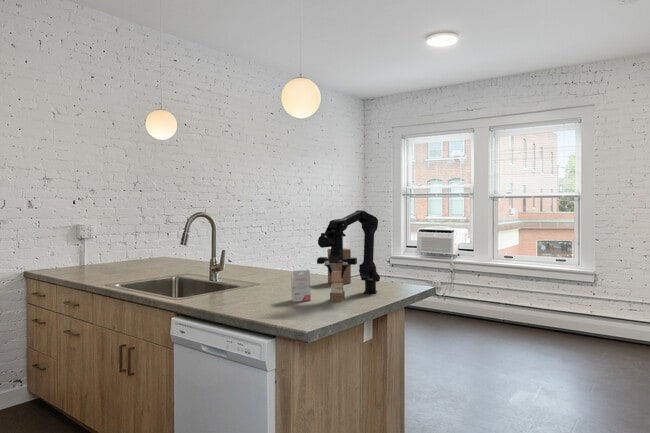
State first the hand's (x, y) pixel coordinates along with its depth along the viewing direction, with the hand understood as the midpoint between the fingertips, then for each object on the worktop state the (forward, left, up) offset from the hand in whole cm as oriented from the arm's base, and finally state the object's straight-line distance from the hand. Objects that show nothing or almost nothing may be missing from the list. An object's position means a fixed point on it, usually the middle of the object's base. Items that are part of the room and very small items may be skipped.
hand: (337, 278), depth 223 cm
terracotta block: (0, 0, -1) cm, 1 cm away
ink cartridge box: (+4, -17, -10) cm, 20 cm away
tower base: (0, 0, -10) cm, 11 cm away
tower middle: (0, 0, -6) cm, 7 cm away
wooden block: (-48, -9, -10) cm, 50 cm away
